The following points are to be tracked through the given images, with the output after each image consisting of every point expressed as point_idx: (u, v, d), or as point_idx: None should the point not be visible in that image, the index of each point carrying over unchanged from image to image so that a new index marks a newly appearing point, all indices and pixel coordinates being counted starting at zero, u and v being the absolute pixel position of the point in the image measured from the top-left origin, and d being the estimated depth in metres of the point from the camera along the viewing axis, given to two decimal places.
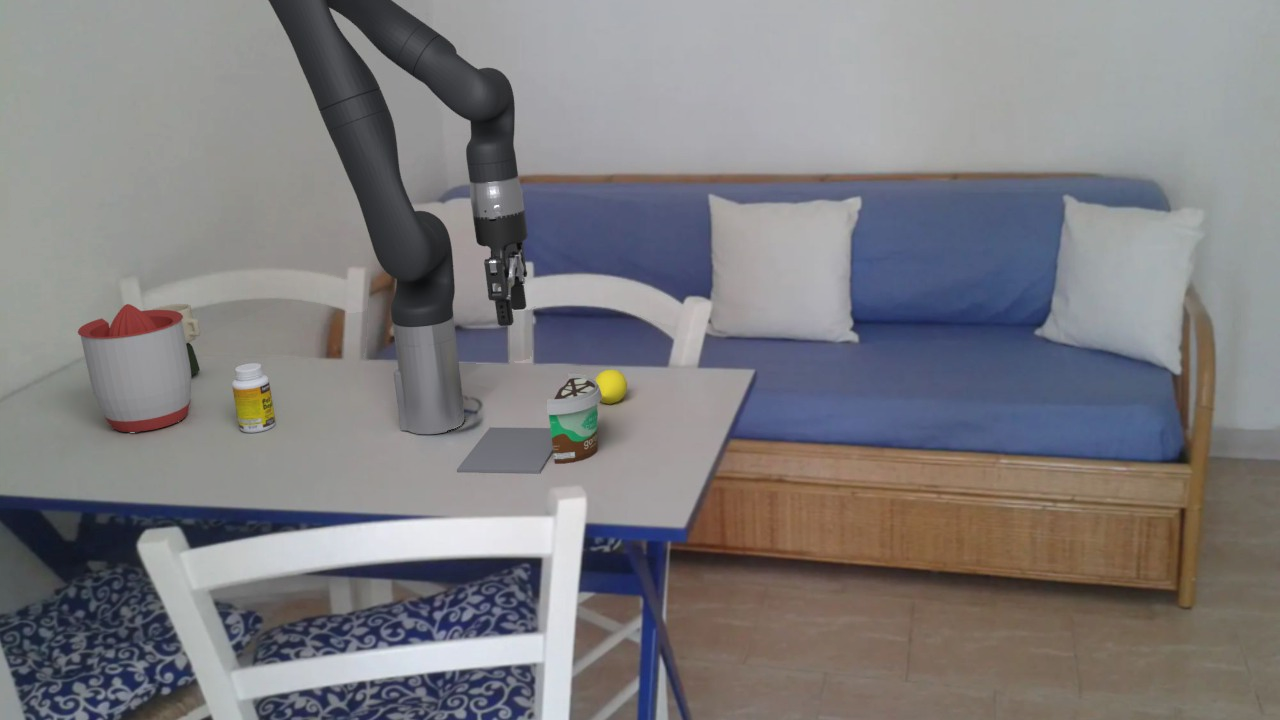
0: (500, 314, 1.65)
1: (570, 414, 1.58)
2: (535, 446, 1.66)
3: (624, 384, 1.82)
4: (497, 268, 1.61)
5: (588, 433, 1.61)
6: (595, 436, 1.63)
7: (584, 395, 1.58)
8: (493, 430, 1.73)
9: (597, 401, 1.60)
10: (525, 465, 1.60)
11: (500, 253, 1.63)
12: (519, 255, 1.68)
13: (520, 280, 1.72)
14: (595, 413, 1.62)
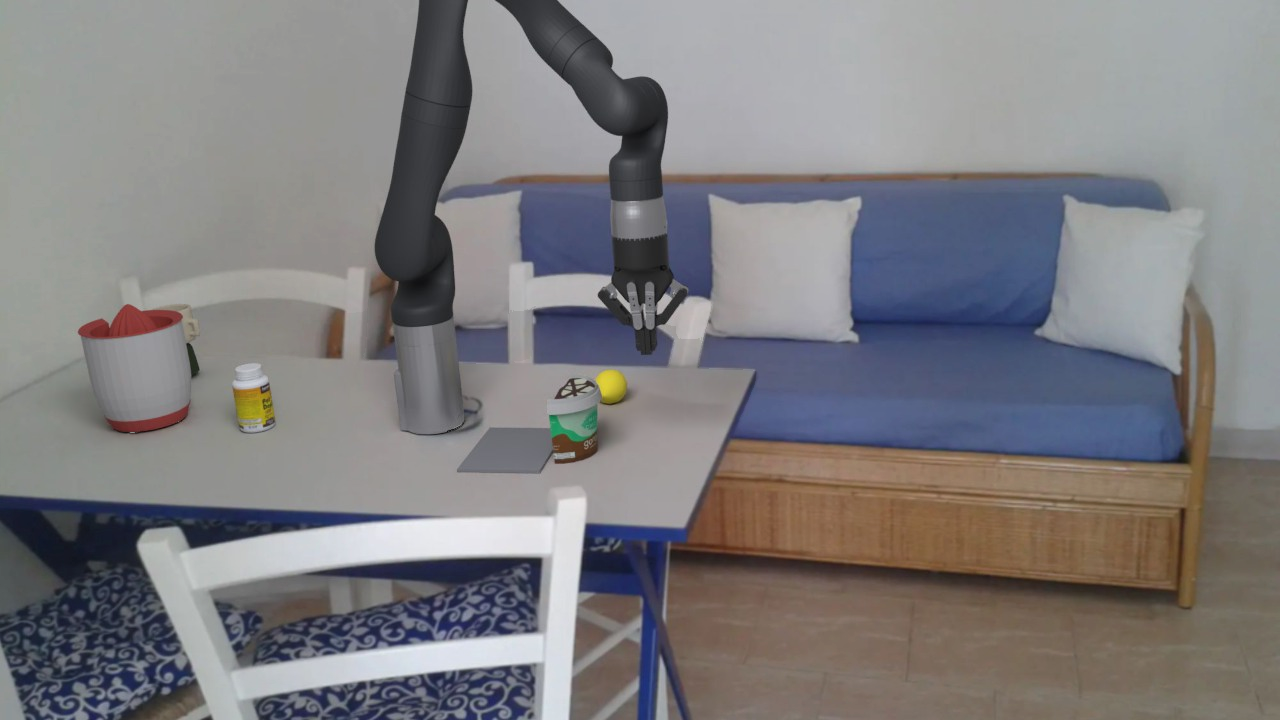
0: (656, 340, 1.57)
1: (570, 414, 1.58)
2: (535, 446, 1.66)
3: (624, 384, 1.82)
4: None
5: (588, 433, 1.61)
6: (595, 436, 1.63)
7: (584, 395, 1.58)
8: (493, 430, 1.73)
9: (597, 401, 1.60)
10: (525, 465, 1.60)
11: (673, 275, 1.55)
12: None
13: None
14: (595, 413, 1.62)
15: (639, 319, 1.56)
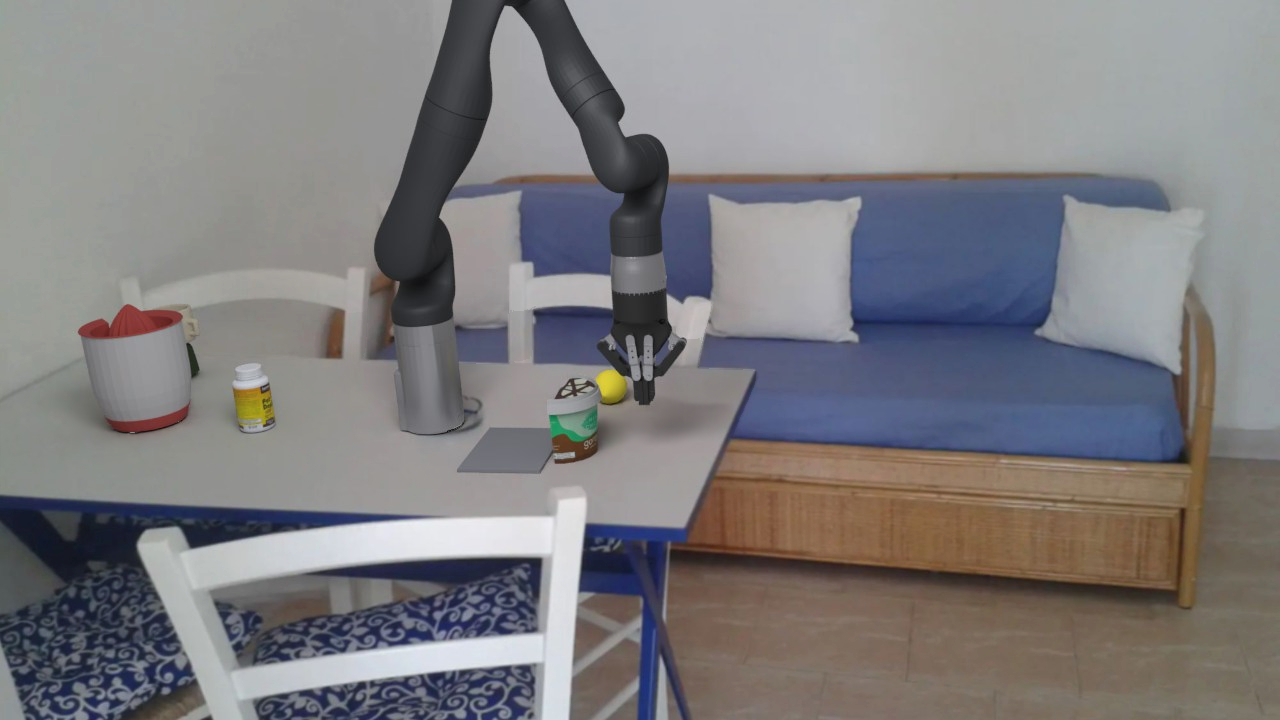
0: (653, 391, 1.59)
1: (570, 414, 1.58)
2: (535, 446, 1.66)
3: (624, 384, 1.82)
4: None
5: (588, 433, 1.61)
6: (595, 436, 1.63)
7: (584, 395, 1.58)
8: (493, 430, 1.73)
9: (597, 401, 1.60)
10: (525, 465, 1.60)
11: None
12: None
13: (642, 367, 1.60)
14: (595, 413, 1.62)
15: (637, 370, 1.58)
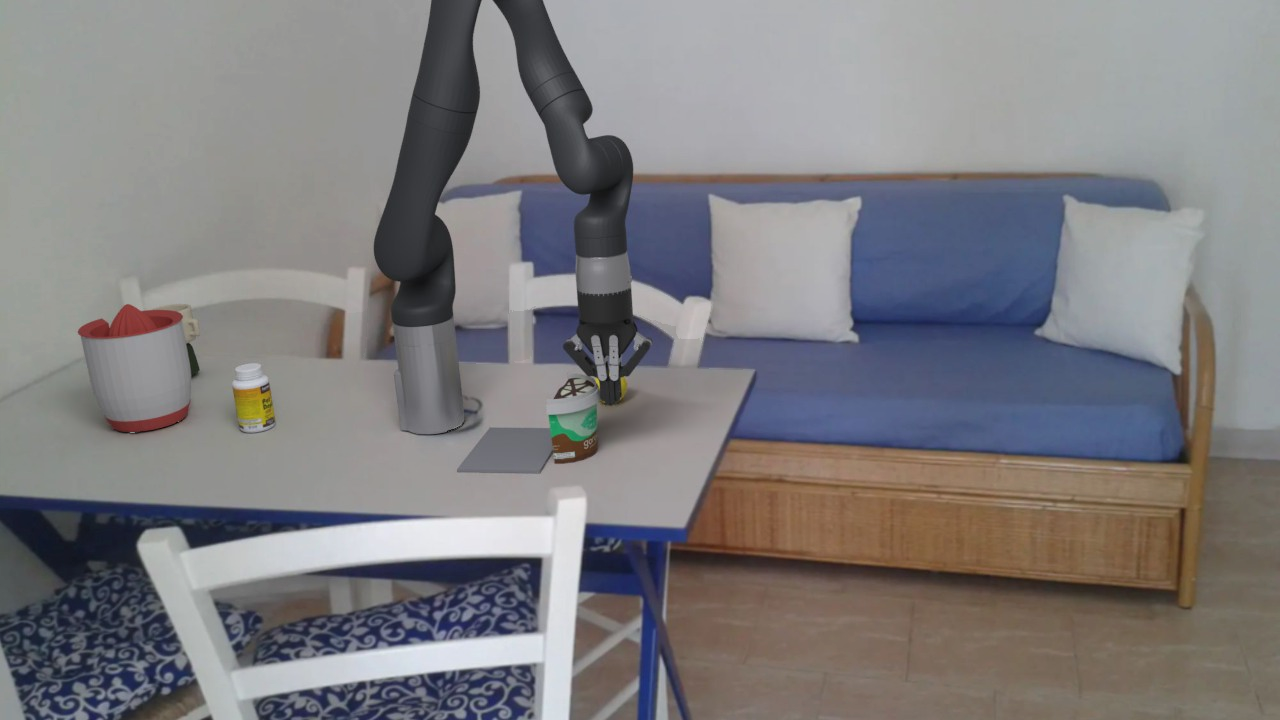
0: (620, 391, 1.60)
1: (569, 414, 1.58)
2: (535, 446, 1.66)
3: (624, 384, 1.82)
4: None
5: (588, 433, 1.61)
6: (595, 436, 1.63)
7: (583, 395, 1.58)
8: (493, 430, 1.73)
9: (596, 400, 1.60)
10: (525, 465, 1.60)
11: None
12: None
13: (608, 367, 1.61)
14: (595, 413, 1.62)
15: (603, 371, 1.59)
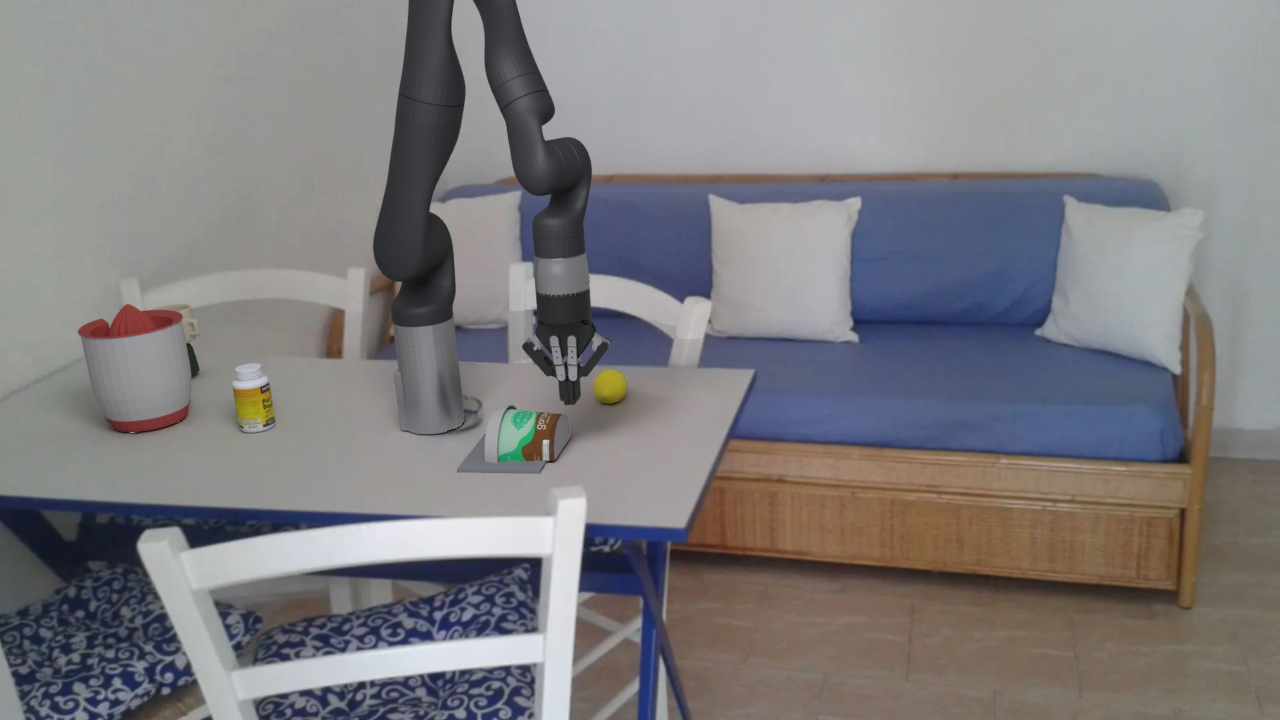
0: (579, 391, 1.61)
1: (502, 440, 1.61)
2: None
3: (624, 384, 1.82)
4: None
5: (531, 423, 1.62)
6: (542, 416, 1.63)
7: (489, 424, 1.63)
8: None
9: (502, 411, 1.64)
10: (525, 465, 1.60)
11: None
12: None
13: (567, 367, 1.62)
14: (518, 413, 1.64)
15: (562, 371, 1.60)
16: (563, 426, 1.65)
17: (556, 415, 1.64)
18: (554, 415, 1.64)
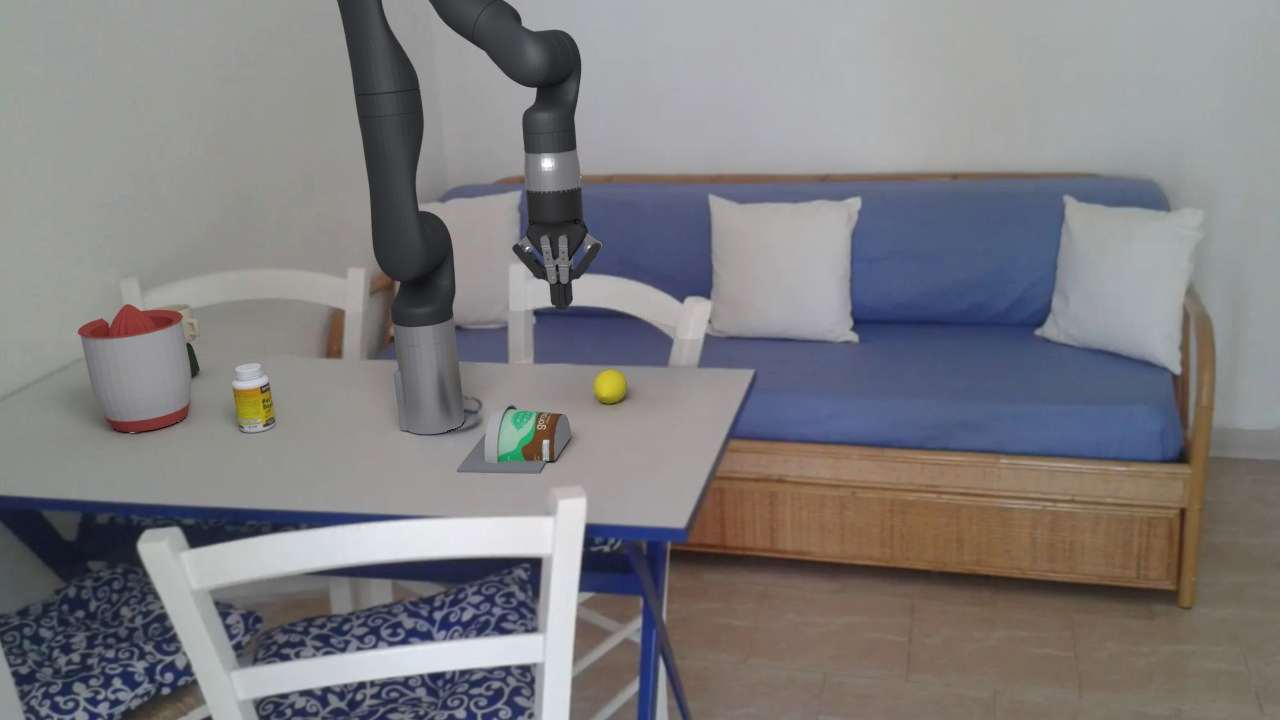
0: (570, 295, 1.58)
1: (502, 440, 1.61)
2: None
3: (624, 384, 1.82)
4: (598, 251, 1.56)
5: (531, 423, 1.62)
6: (542, 416, 1.63)
7: (489, 424, 1.63)
8: None
9: (502, 411, 1.64)
10: (525, 465, 1.60)
11: (587, 229, 1.55)
12: None
13: (559, 270, 1.58)
14: (518, 413, 1.64)
15: (553, 273, 1.56)
16: (563, 426, 1.65)
17: (556, 415, 1.64)
18: (554, 415, 1.64)
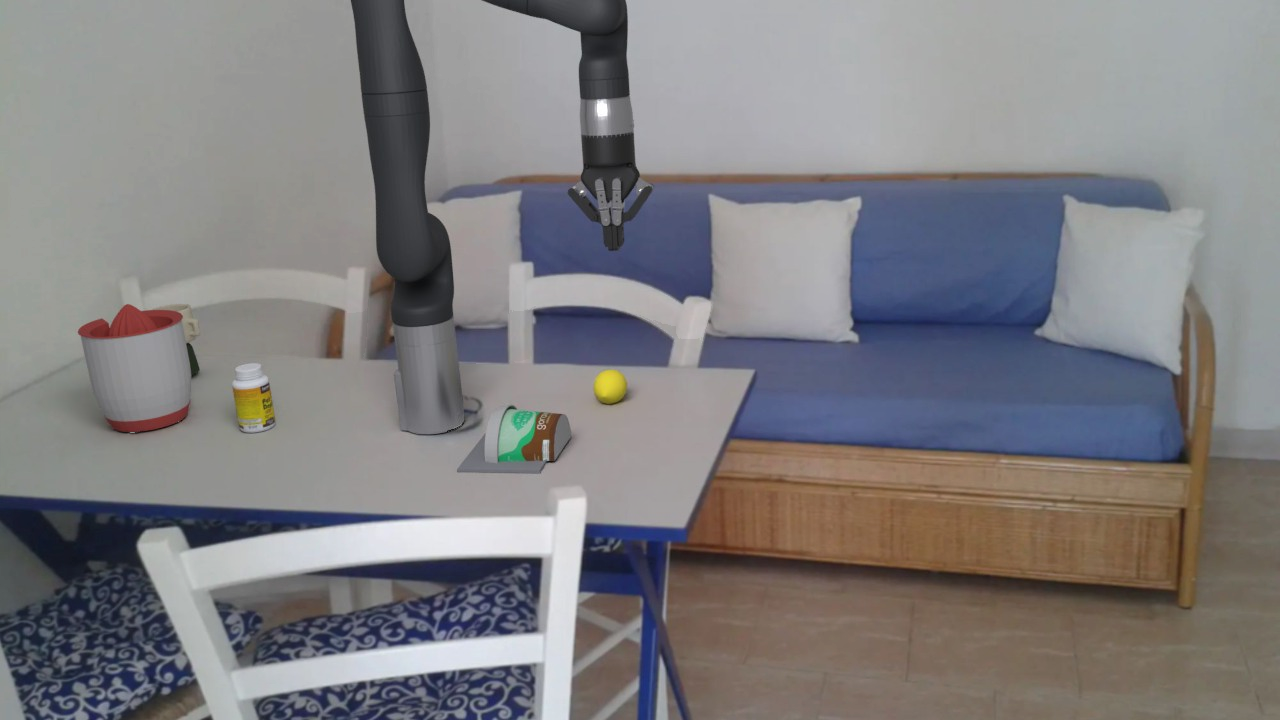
0: (622, 237, 1.66)
1: (502, 440, 1.61)
2: None
3: (624, 384, 1.82)
4: None
5: (531, 423, 1.62)
6: (542, 416, 1.63)
7: (489, 424, 1.63)
8: None
9: (502, 411, 1.64)
10: (525, 465, 1.60)
11: (639, 173, 1.63)
12: None
13: (611, 214, 1.66)
14: (518, 413, 1.64)
15: (607, 215, 1.64)
16: (563, 426, 1.65)
17: (556, 415, 1.64)
18: (554, 415, 1.64)
